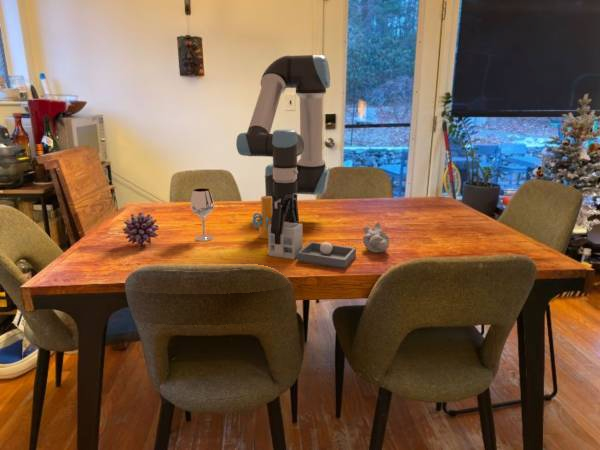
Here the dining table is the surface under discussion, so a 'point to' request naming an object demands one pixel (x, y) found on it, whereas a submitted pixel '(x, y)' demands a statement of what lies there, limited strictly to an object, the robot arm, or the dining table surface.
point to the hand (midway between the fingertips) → (285, 248)
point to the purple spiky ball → (140, 228)
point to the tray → (327, 256)
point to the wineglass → (202, 208)
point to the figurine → (375, 239)
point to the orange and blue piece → (264, 216)
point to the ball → (326, 248)
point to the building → (287, 240)
